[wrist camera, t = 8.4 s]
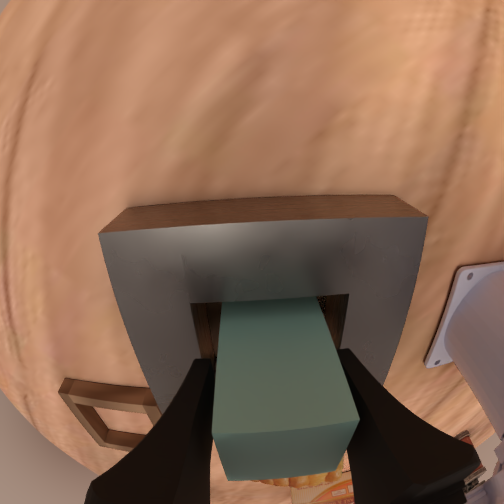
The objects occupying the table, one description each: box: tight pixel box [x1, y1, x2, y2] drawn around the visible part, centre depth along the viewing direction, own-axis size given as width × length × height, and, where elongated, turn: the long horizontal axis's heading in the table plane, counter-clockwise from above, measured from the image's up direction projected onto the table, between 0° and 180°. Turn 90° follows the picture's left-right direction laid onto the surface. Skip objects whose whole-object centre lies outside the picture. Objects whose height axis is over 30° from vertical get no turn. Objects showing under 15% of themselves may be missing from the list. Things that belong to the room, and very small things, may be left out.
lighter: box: [454, 430, 486, 494], centre depth 22 cm, size 8×3×10 cm, turn 7°
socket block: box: [98, 195, 428, 414], centre depth 13 cm, size 12×12×3 cm
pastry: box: [250, 455, 344, 488], centre depth 20 cm, size 9×7×4 cm
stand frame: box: [58, 378, 162, 452], centre depth 18 cm, size 8×8×2 cm
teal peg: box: [212, 296, 360, 481], centre depth 11 cm, size 4×4×8 cm
